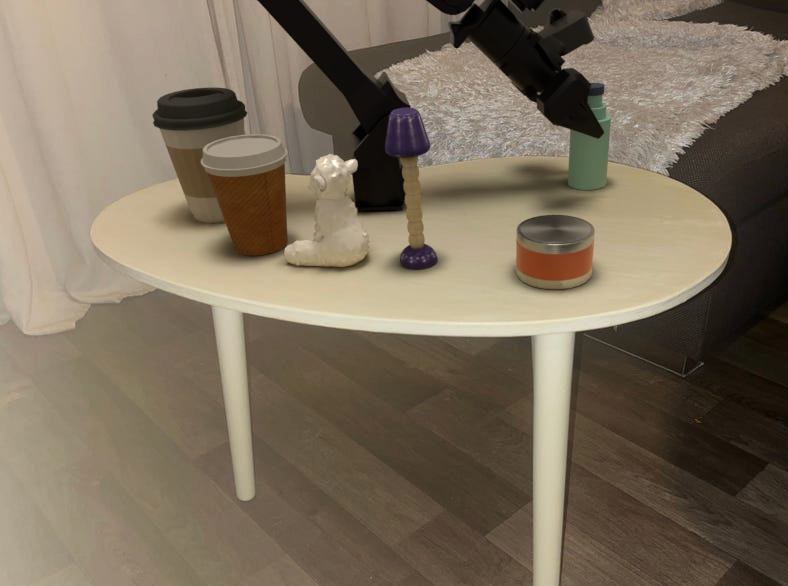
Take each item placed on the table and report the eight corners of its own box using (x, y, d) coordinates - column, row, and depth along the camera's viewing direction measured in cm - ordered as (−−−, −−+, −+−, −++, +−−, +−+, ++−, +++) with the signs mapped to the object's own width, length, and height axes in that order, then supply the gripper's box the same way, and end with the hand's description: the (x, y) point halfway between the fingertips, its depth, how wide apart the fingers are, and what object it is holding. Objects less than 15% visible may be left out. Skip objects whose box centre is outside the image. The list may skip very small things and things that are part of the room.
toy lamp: (431, 272, 82) (422, 116, 73) (390, 270, 83) (376, 116, 74) (440, 254, 86) (433, 104, 77) (401, 252, 87) (389, 103, 78)
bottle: (570, 190, 102) (574, 90, 95) (565, 177, 106) (570, 81, 99) (608, 189, 102) (616, 89, 95) (603, 176, 106) (610, 79, 99)
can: (518, 290, 78) (518, 245, 75) (514, 257, 85) (514, 215, 82) (596, 288, 77) (600, 243, 75) (586, 255, 84) (589, 212, 81)
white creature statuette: (341, 235, 92) (328, 136, 86) (394, 250, 88) (385, 147, 81) (282, 263, 86) (264, 159, 79) (336, 281, 81) (322, 172, 75)
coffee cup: (261, 193, 106) (241, 81, 98) (267, 222, 97) (246, 101, 89) (177, 204, 104) (149, 91, 96) (175, 234, 94) (144, 112, 86)
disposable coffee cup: (220, 235, 94) (199, 138, 87) (298, 225, 95) (283, 129, 89) (220, 266, 86) (196, 162, 79) (304, 255, 87) (288, 152, 81)
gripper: (577, -2, 82) (663, 94, 89) (535, -20, 98) (611, 63, 105) (506, 79, 86) (595, 165, 93) (477, 49, 101) (555, 125, 108)
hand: (590, 126), depth 100 cm, fingers open, 9 cm apart
